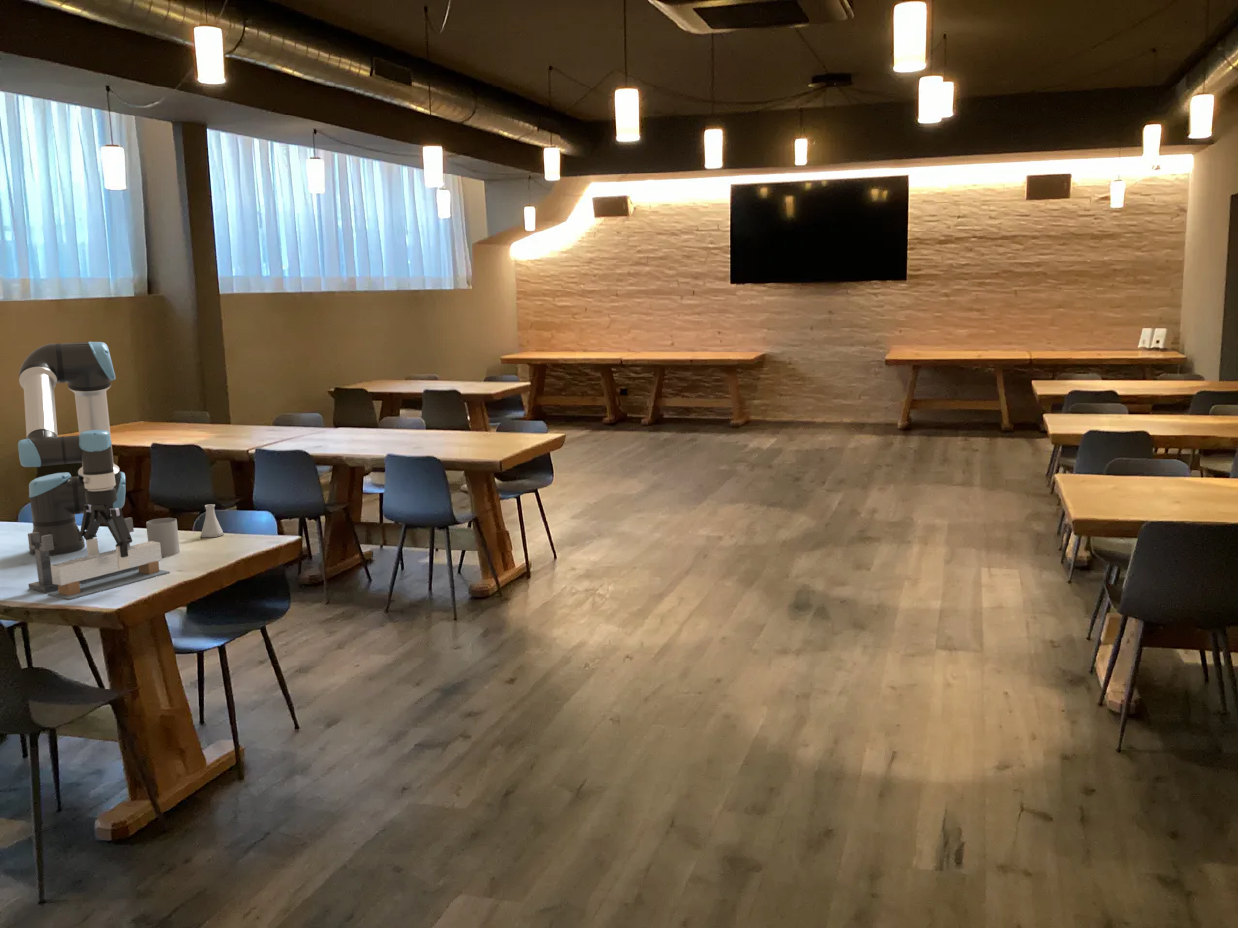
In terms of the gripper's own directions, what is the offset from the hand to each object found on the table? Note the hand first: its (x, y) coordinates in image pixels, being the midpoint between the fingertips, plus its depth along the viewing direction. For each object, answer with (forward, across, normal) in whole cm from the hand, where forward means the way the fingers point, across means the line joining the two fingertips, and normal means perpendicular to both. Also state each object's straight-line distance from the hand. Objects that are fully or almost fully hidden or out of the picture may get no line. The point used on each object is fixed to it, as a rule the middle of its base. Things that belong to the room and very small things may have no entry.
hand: (108, 565), depth 287 cm
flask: (+6, -24, +50) cm, 56 cm away
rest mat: (+5, 0, 0) cm, 5 cm away
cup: (+5, -17, +28) cm, 33 cm away
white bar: (+2, 0, 0) cm, 2 cm away
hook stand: (+5, -11, 0) cm, 12 cm away
